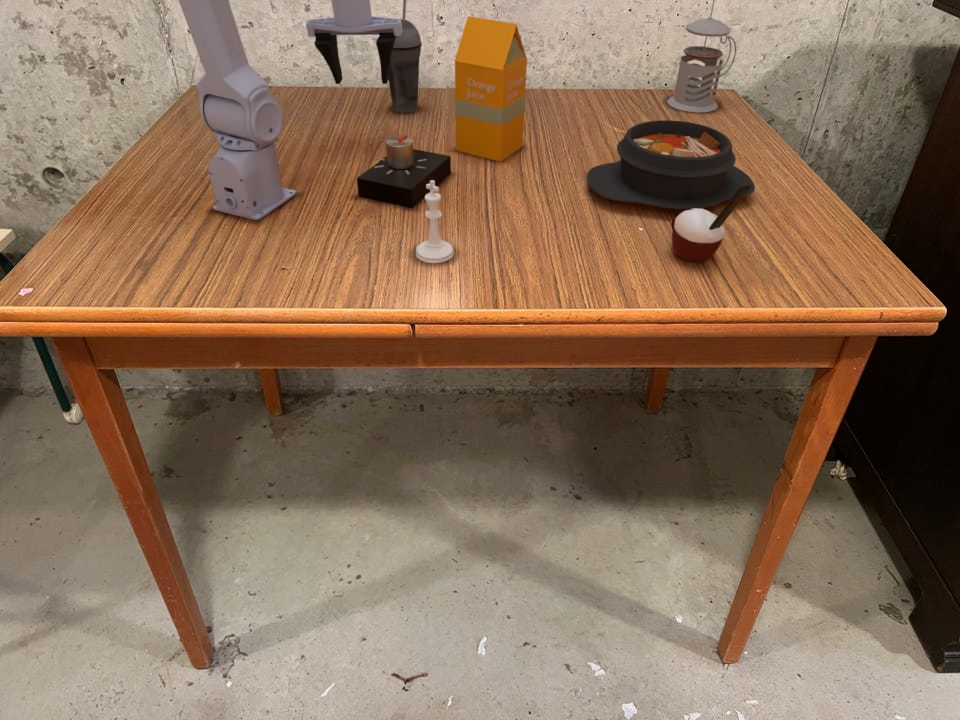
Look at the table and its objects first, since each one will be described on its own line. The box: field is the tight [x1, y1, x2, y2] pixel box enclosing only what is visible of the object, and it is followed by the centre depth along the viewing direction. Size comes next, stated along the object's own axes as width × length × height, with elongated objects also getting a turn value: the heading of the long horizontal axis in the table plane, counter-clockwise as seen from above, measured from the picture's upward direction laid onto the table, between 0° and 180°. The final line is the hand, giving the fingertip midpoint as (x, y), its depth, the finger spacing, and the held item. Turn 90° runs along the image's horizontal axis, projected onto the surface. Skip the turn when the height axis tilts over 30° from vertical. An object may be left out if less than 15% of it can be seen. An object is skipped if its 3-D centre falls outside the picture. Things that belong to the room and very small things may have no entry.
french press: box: [666, 0, 737, 113], centre depth 127 cm, size 10×12×25 cm
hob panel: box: [356, 148, 452, 209], centre depth 104 cm, size 13×10×3 cm
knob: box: [385, 134, 414, 169], centre depth 102 cm, size 4×4×4 cm
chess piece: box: [415, 180, 455, 264], centre depth 86 cm, size 5×5×10 cm
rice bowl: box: [670, 185, 751, 263], centre depth 85 cm, size 10×6×12 cm, turn 6°
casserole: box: [586, 119, 756, 210], centre depth 101 cm, size 25×19×8 cm
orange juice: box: [454, 15, 528, 163], centre depth 110 cm, size 8×9×20 cm
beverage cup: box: [388, 0, 423, 114], centre depth 124 cm, size 7×7×20 cm
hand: (362, 81), depth 112 cm, fingers open, 7 cm apart
